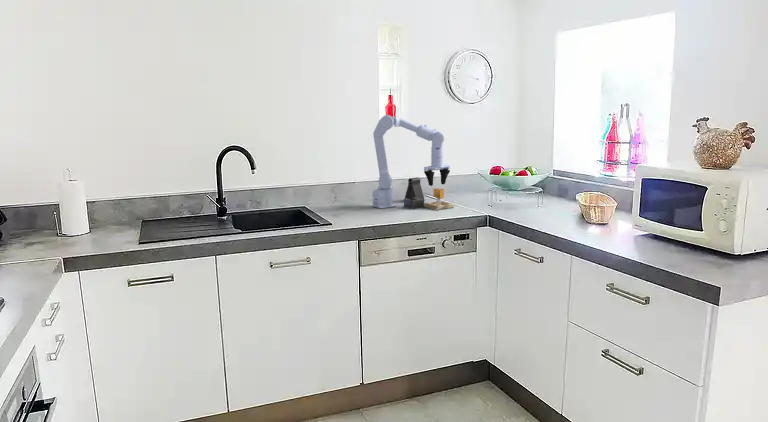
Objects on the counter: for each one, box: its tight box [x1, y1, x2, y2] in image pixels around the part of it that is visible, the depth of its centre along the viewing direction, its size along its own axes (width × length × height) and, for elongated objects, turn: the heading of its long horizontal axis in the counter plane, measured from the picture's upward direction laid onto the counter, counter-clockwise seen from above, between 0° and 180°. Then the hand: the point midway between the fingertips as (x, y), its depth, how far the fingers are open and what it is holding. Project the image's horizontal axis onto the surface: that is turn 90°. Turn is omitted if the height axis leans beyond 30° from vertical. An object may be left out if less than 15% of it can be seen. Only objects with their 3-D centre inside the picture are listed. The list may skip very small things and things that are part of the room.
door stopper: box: [403, 176, 426, 202], centre depth 294 cm, size 9×6×12 cm, turn 44°
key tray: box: [424, 200, 455, 211], centre depth 277 cm, size 10×10×2 cm
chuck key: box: [432, 187, 445, 206], centre depth 276 cm, size 5×2×8 cm, turn 34°
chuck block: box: [403, 197, 425, 210], centre depth 278 cm, size 7×7×4 cm
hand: (437, 184), depth 279 cm, fingers open, 7 cm apart
